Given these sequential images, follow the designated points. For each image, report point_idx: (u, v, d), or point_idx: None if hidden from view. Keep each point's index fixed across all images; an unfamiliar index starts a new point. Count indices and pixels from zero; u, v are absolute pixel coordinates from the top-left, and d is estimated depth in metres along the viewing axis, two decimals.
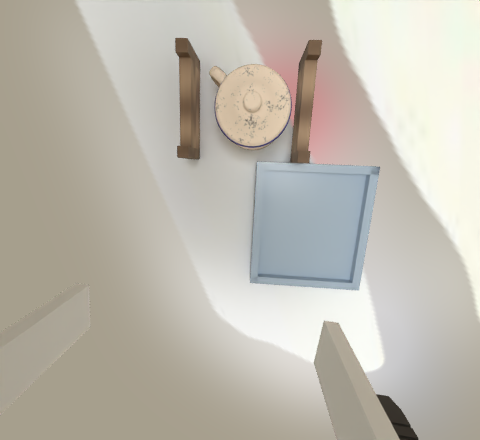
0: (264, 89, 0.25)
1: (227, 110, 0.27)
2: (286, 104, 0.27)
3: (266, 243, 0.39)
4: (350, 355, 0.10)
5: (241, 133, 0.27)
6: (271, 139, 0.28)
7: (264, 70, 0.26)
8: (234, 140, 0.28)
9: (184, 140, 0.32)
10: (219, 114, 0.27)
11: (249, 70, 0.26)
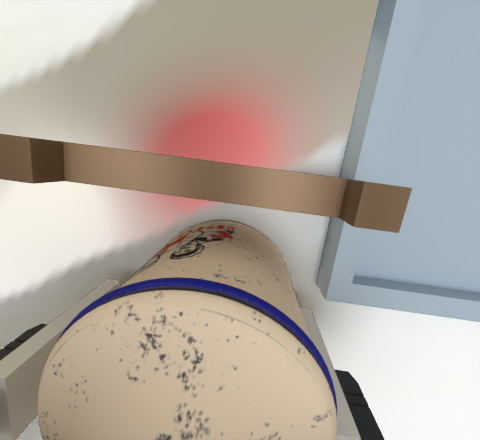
0: None
1: None
2: (180, 324, 0.06)
3: None
4: (317, 336, 0.11)
5: None
6: (322, 382, 0.06)
7: (49, 394, 0.06)
8: None
9: None
10: None
11: None
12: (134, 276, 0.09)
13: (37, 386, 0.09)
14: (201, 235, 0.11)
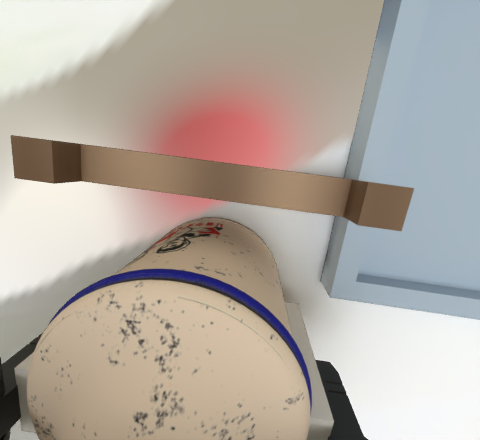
0: (86, 429, 0.06)
1: None
2: (158, 311, 0.06)
3: None
4: (301, 329, 0.12)
5: None
6: (295, 367, 0.07)
7: (37, 379, 0.07)
8: None
9: None
10: None
11: (41, 425, 0.07)
12: (121, 269, 0.09)
13: None
14: (189, 231, 0.12)
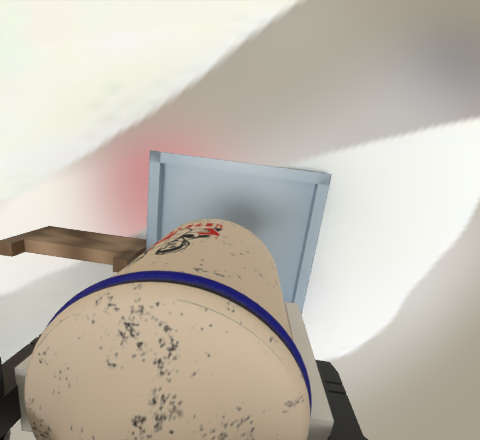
0: (83, 432, 0.06)
1: None
2: (157, 313, 0.06)
3: None
4: (301, 329, 0.12)
5: None
6: (294, 370, 0.06)
7: (35, 381, 0.07)
8: None
9: None
10: None
11: (39, 428, 0.07)
12: (120, 271, 0.09)
13: None
14: (189, 232, 0.12)
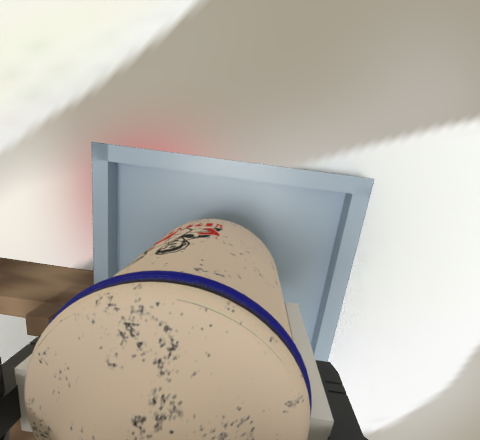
0: (84, 433, 0.06)
1: None
2: (157, 313, 0.06)
3: None
4: (301, 329, 0.12)
5: None
6: (294, 370, 0.06)
7: (35, 381, 0.07)
8: None
9: None
10: None
11: (39, 428, 0.07)
12: (120, 271, 0.09)
13: None
14: (189, 232, 0.12)
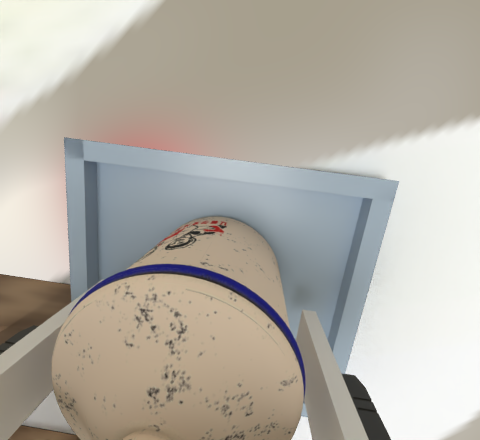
0: (105, 402, 0.06)
1: None
2: (168, 301, 0.07)
3: None
4: (322, 339, 0.11)
5: None
6: (289, 353, 0.07)
7: (61, 359, 0.08)
8: None
9: None
10: None
11: (64, 400, 0.08)
12: (133, 264, 0.10)
13: (27, 389, 0.09)
14: (195, 229, 0.12)
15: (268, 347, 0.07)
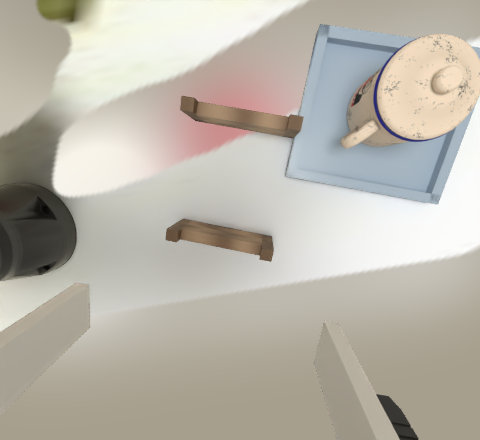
0: (428, 65, 0.20)
1: (431, 121, 0.21)
2: (445, 38, 0.20)
3: (386, 176, 0.32)
4: (350, 355, 0.10)
5: (464, 106, 0.21)
6: None
7: (395, 67, 0.21)
8: None
9: (254, 250, 0.31)
10: (428, 133, 0.22)
11: (390, 86, 0.21)
12: None
13: None
14: None
15: (477, 57, 0.20)
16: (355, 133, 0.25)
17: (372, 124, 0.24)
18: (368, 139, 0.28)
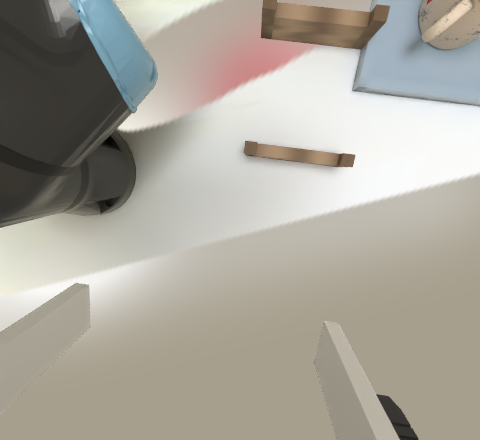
0: None
1: None
2: None
3: (456, 81, 0.32)
4: (350, 355, 0.10)
5: None
6: None
7: None
8: None
9: (331, 160, 0.31)
10: None
11: None
12: None
13: None
14: None
15: None
16: (447, 14, 0.25)
17: (466, 2, 0.24)
18: (446, 34, 0.28)
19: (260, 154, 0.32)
